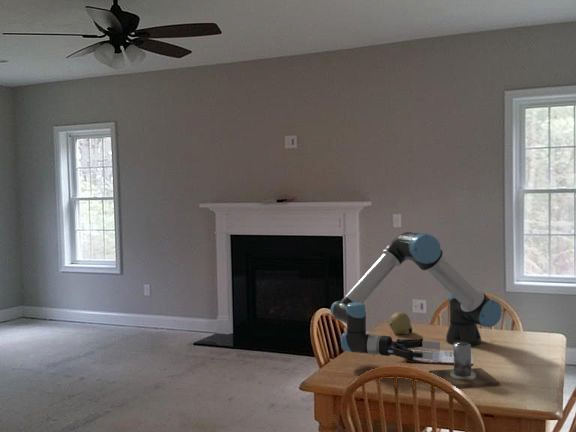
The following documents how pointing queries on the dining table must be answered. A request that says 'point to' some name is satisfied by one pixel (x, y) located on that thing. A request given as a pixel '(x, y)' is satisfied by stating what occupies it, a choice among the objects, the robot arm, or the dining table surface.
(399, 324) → the olive green rounded lump
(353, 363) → the dining table surface
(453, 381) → the brown flat slab
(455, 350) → the grey metallic can
